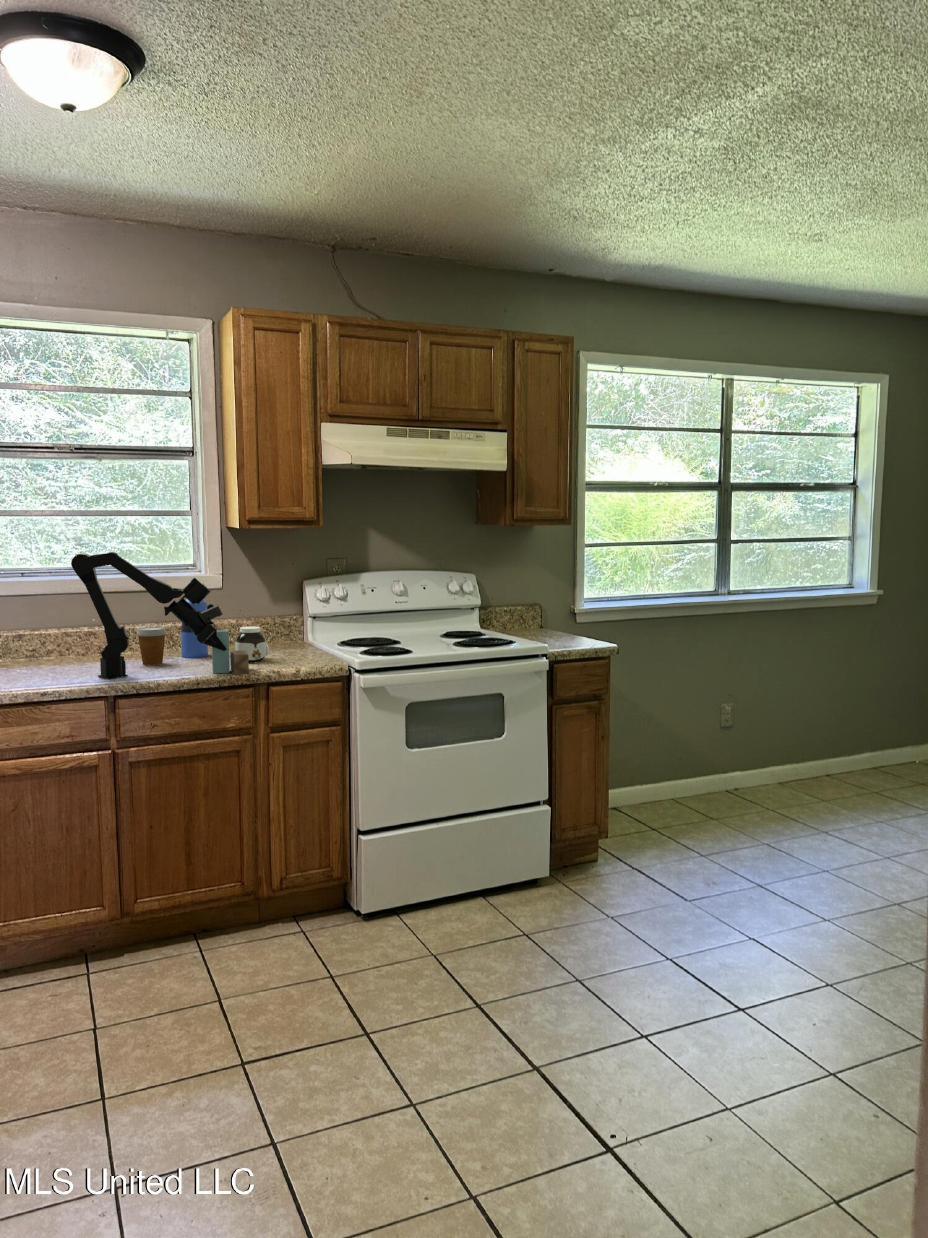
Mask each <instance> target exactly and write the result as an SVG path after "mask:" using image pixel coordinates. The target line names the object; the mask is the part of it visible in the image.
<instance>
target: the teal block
mask: <svg viewBox="0 0 928 1238" xmlns="http://www.w3.org/2000/svg"><path fill="white" fill-rule="evenodd" d="M229 635H230V633H229V630H227V629H225V630H224V629H223V630H217V637H218V638H219V639H220V640H221V642H222V643H223V644H224V646H225V647H226V648H227V649H226V650H225V651H222V650H220V649H217V648H214V647H211V655H212V656H211V658H212V659H211V663H212V664H211V665H212V666H211V667H212V673H213V674H227V673H231V672H230V670H231V667H230V639H229V637H230V636H229Z"/></svg>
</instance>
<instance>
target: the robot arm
mask: <svg viewBox="0 0 928 1238" xmlns="http://www.w3.org/2000/svg"><path fill="white" fill-rule="evenodd" d="M70 561H71V562H70V564H71V569H72V570H73V571H74V573H75V574H76V575H77V577H78V578H79V579H80V581H81V582H82V583H83V585H84V586H85V589H86V590H87V593H88V595H89V597H90V599H91V601H92V603H93V607H94V608H95V611H96V613H97V614H98V618H99V619H100V621H101V624H102V626H103V629H104V633H105V634H104V635H105V639H106V643H107V644H106V645H105V646H104V647H103V648H102V650H101V652H100V655H101V657H100V658H99V660H100V661H99V663H100V664H99V665H100V674H99V675H97V677H98V678H102V679H106V680H107V679H108V680H111V679H119V678H123V677H124V678H125V677H128V676H129V675H128V674H126V673H127V671H126V670H127V668H126V667H127V665H126V664H127V663H126V660H125V656H124V655H122V653H124V652H125V651H126V650H127V649H128V646H129V644H130V643H129V642H130V640H129V639H130V635H129V633H128V632H127V630H126V625H125V624H122V625H119V623H118V622H117V621H116V618H115V616H114V614H113V612H112V609H111V607H110V605H109V603H108V601H107V599H106V595H105V594H104V591H103V590H102V589H103V588H102V587H101V584H100V583H99V580H98V576H97V570H96V568H100V567H105V566H107V567H108V566H111V567H112V568H114V569H116V570H117V571H119V572H120V573H121V574H122V575H124V576H125V577H128V578H129V579H130V580H132V581H134V582H135V583H136V584H139V586H142V588H144V589H145V590H146V591H147V592H148V594H150V596H152V597H153V598H154V599H155V601H156V602H158V603H160V604H163V605H164V606H163V610H164V616H168V615H169V614H170V613H172V615H174V616H175V617H176V618H177V619H178V620H179V621H180V622H181V624H182V623H184V625H185V626H186V627H188V628H189V629H190V630H191V631H193V632H194V634H195V635H196V636H197V640H198V641H199V642H200V643H201V644H202V643H203V644H206V645H208V647H209V646H210V647H211V648H212V647H214V648H217V649H220V650H222V651H225V650H226V649H227V648H226V647H225V646H224V644H223V643H222V642H221V640H220V639H219V638H218V637H217V631H218V629H217V627H216V625H215V622H214V621H213V620H214V619H215V618H217V617H221V616H223V612H222V610H221V608H220V606H219V604H215V605H214V604H212V603H210V604H207V610H205V611H203V612H200V611H199V610H196V609H195V608H194V607H192V606H191V605H190V604H189V603H188V602H187V601H186V599H188V600H189V601H190V602H191V603H192V604H193V605H194V604H196V603H197V604H199V603H200V602H201V601H202V600H203V601H204V599H206V598H207V596H208V595H209V594H210V593H211V592H212V591H211V590H210V589H209V588H208V587H207V586H206V585H205V584H204V583H202V582H201V581H200V580H199V579H197V578H196V577H192V579H191V580H190V582H189V583H188V584H187V585H186V586H185V587H183V588H175V587H172V586H171V585H169V584H168V583H165V582H163V581H162V580H159V579H156V578H154V577H152V576H150V575H148V574H146V573H145V572H144V571H142V570H141V569H140V568H137V567H136V566H135V565H133V564H132V563H130V562H129V561H127V560H126V559H125V558H123V557H121V556H120V555H119V554H118V553H117V552H115V551H110V552H107V553H97V554H91V555H90V554H88V553H85V552H81V553H78V554H75V556H73V557H72V558H71V560H70ZM175 599H178V600H175ZM165 604H169V605H167V606H165Z"/></svg>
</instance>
